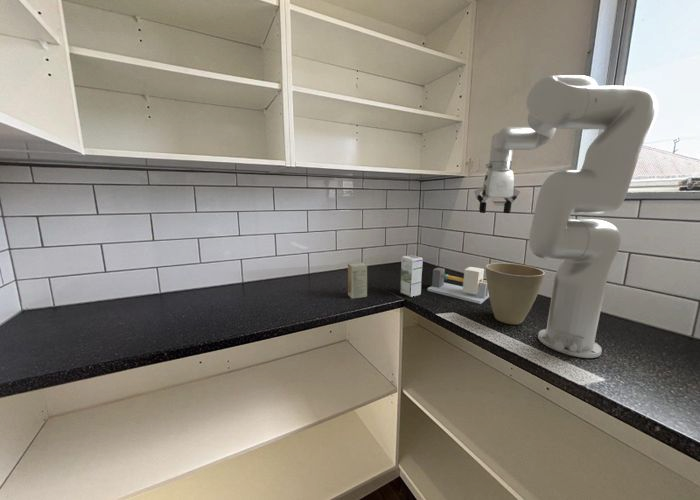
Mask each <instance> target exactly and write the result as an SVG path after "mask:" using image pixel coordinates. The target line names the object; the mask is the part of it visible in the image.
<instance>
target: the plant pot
mask: <svg viewBox="0 0 700 500" xmlns="http://www.w3.org/2000/svg"><path fill="white" fill-rule="evenodd" d="M485 272H486V275H485V276H486V277H485V278H486V281H487V287H488V293H489V297H488V299H489V303H490V306H491V308H492V309H491V310H492V313H493V317H494V318H495V319H496V320H497V321H499V322H501V323H504V324H507V325H508V324H509V325H520V324H522V323H523V322H524V321H525V319H526V317H527V315H528V314H529V313H530V311H531V309H532V307H533V305H534V303H535V301H536V298H537V297H538V294H539V292H540V289H541V286H542V284H543V281H544V278H545V274H546V272H545V271H544V270H543V269H540V268H537V267H535V266H530V265H525V264H519V263H518V264H517V263H509V262H508V263H507V262H496V263H495V262H493V263H488V264H486V266H485Z"/></svg>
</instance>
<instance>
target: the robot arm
mask: <svg viewBox="0 0 700 500" xmlns="http://www.w3.org/2000/svg"><path fill="white" fill-rule="evenodd" d="M525 106H526V109H527V110H528V114H527V123H528V126H505V127H503V128H501V129H500V130H499V131H498V132H495V133H494V134H493V135H492V137H491V142H490V151H489V160H488V161H489V162H488V163H486V164H485V168H487V171H486V173H485V176H484V179H483V184H482V186H481V187H479V188H478V189H475V190H474V191H473V192H474V193H473V194H474V195H475V198H476V199H477V200H478V202H479V209H478V210H479V213H480V214H485V213H486V211H487V200H488V199H489V198H498V199H499V198H503V199H504V200H505V202H504V205H503V213H504V214H510V213H511V210H512V203H514V201H515V200H516V199H517V198H518V196H519V194H520V192H521V191H519V190H518V189H516V188H515V187H514V186H515V185H514V184H515V183H514V181H515V180H514V179H515V178H514V177H515V176H514V170H511V169H512V164H513V163H512V162H513V155H514V154H513V153H514V151H532V150H536V149H538V148H540V147H542V146H545V145H546V144H547V143H549V142H550V141H551V139H553V137H554V135H555V133H556V131H557V130H602V132H600V134H599V135H598V136H596V137H595V139H594V140H593V141H592V142H591V143H590V145H588V148H587V149H586V153H585V156H584V160H583V162H582V163H583V164H582V166H581V168H580V169H564V170H558V171H556V172H554V173H552V174H550V175H549V176H547V178H546V179H545V180H544V182H543V183H542V185H541V187H540V189H539V191H538V195H537V197H536V198H537V200H536V204H535V208H534V213H533V217H532V221H531V227H530V230H529V238H528V240H529V241H528V244H529V245H528V246H529V249H530V251H531V252H532V254H533V255H534V256H536V257H538V258H540V259H544V260H563V261H562V262H561V264H560V265H559V267H558V268H557V270H556V273H555V276H554V278H553V279H554V280H553V287H552V293H551V297H550V305H549V310H548V316H547V317H548V318H547V322H546V324H547V325H546V328H544V329H541V330H539V331H538V334H537V339H538V340H539V341H540V343H542V344H543V345H545V346H546V347H548V348H550V349H552V350H554V351H556V352H558V353H562V354H564V355H567V356H570V357H577V358H583V359H594V358H598V357H600V356H601V355H602V351H603V349H602V347H601V345H599V344H598V342H595V341H596V336H597V330H598V326H599V321H600V315H601V311H602V306H603V301H604V295H605V290H606V287H607V286H606V285H607V281H608V277H609V274H610V273H609V272H610V269H611V266H612V264H613V262H614V260H615V257H616V256H617V254H618V253H619V252H618V251H619V249H620V246H621V244H622V235H621V232H620V230H619V229H618V228H617V226H615V225H614V224H613V223H612V222H608V221H606V220H603V219H595V218H570V217H571V215H573V214H574V215H576V214H577V215H578V214H579V215H580V214H581V215H585V214H586V215H600V214H609V213H612V212H614V211H617V210H618V209H620V208H621V206H622V205H623V203H624V201H625V199H626V196H627V194H628V192H629V191H628V190H629V189H630V185H631V183H632V179H633V176H634V173H635V170H636V167H637V164H638V161H639V156H640V153H641V150H642V148H643V146H644V143H645V141H646V139H647V138H648V135H649V134H650V132H651V130H652V128H653V126H654V124H655V121H656V118H657V116H658V111H659V102H658V100H657V97H656V95H655V94H654V92H652V91H650V90H649V89H646V88H642V87H638V86H637V87H636V86H627V85H598V83H597V82H596V80H595V79H594V78H592V77H590V76H587V75H581V74H580V75H579V74H573V75H572V74H564V75H562V74H550V75H546V76H544V77H542V78H540V79H539V80H537V81H536V82H535V83H534V84H533V85H532V87H531V88H530V90H529V91H528V94H527V97H526V105H525Z"/></svg>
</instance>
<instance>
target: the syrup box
mask: <svg viewBox="0 0 700 500" xmlns="http://www.w3.org/2000/svg"><path fill="white" fill-rule="evenodd" d="M423 261H424V260H423V257H420V256H416V255H413V254H412V255H411V254H410V255H404V256H401V262H400V263H401V267H400V291H399V293H400V294H403V295H405V296H406V297H408V298H409V297H410V298H413V296H414V297H417V296H420V295H421V294H422V276H423V275H422V273H423Z"/></svg>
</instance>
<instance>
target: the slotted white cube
mask: <svg viewBox="0 0 700 500" xmlns="http://www.w3.org/2000/svg"><path fill="white" fill-rule="evenodd" d="M463 271H464V273H463V278H464V281H463V282H462V287H463V291H462V292H467V293H471V294H475V295H477V294H478V293H479V288H480V285H479V282H483V280H484V275H485V269H484V268H481V267H476V266H474V267H473V266H468V267H467V268H465V269H464V270H463Z"/></svg>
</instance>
